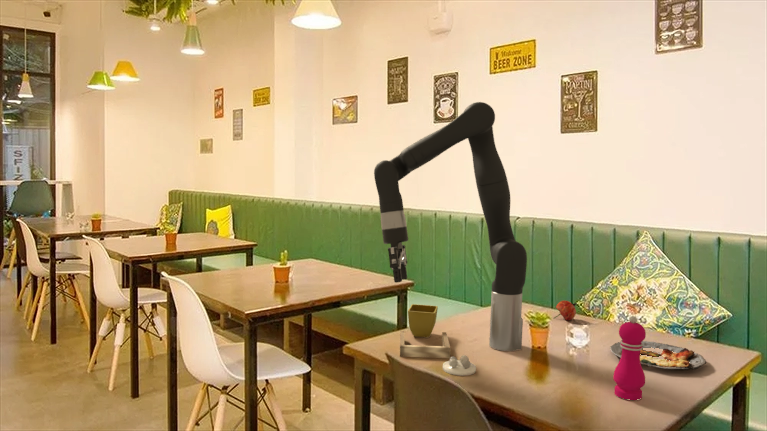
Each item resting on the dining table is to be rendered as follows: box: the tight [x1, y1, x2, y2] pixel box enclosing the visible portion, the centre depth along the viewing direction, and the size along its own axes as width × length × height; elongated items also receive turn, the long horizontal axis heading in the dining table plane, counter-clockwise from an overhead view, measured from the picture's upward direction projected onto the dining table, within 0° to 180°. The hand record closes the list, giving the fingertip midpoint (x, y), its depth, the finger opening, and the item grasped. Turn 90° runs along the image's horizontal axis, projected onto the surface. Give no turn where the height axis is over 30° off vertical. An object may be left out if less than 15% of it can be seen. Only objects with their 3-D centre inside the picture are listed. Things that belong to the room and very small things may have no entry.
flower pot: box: [407, 303, 439, 338], centre depth 186 cm, size 9×9×9 cm
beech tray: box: [399, 330, 451, 359], centre depth 173 cm, size 14×15×3 cm
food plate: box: [609, 340, 707, 371], centre depth 168 cm, size 25×23×4 cm
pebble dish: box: [442, 354, 477, 377], centre depth 156 cm, size 9×9×3 cm
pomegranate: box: [553, 299, 578, 321], centre depth 209 cm, size 7×7×10 cm
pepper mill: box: [612, 315, 647, 401], centre depth 140 cm, size 7×7×20 cm
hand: (401, 280), depth 171 cm, fingers open, 8 cm apart
